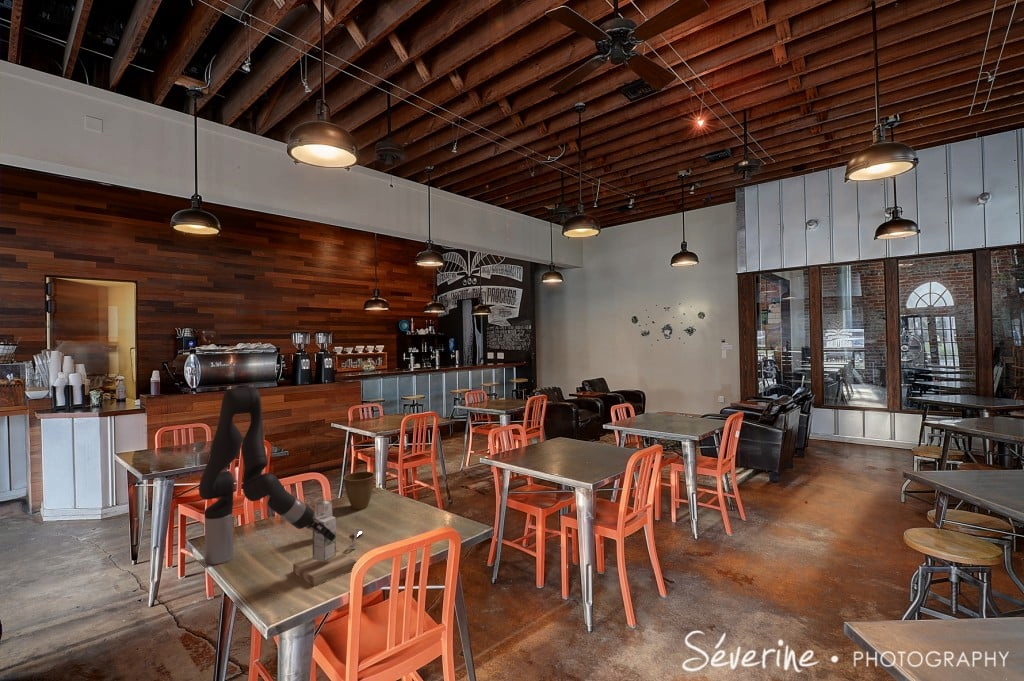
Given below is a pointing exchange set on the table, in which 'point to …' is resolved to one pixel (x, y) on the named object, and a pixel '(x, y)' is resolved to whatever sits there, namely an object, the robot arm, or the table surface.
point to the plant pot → (359, 488)
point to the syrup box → (324, 540)
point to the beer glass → (323, 508)
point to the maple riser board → (323, 568)
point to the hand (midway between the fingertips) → (328, 535)
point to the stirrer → (356, 533)
